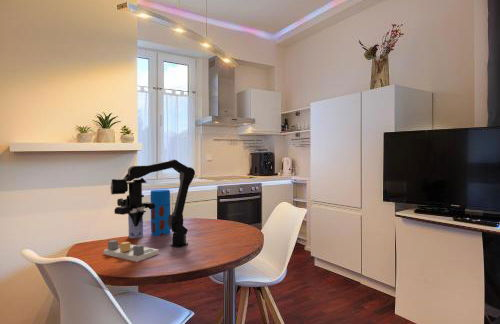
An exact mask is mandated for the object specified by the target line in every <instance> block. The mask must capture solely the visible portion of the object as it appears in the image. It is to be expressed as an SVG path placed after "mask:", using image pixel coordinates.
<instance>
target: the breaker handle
mask: <svg viewBox="0 0 500 324" xmlns="http://www.w3.org/2000/svg"><path fill="white" fill-rule="evenodd" d="M130 244H131V242H129V241H123V242H120V243H119V245H120V251H122V252H126V251H129V250H130Z"/></svg>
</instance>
